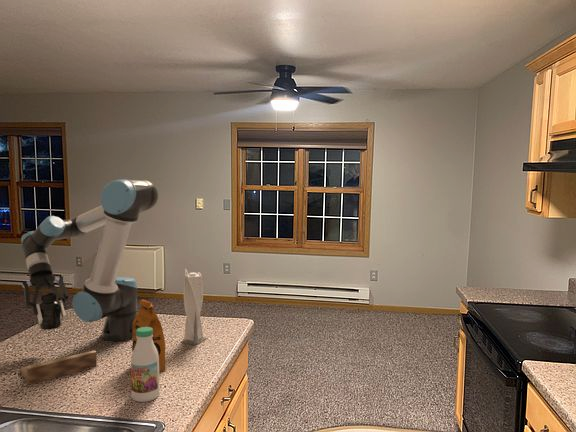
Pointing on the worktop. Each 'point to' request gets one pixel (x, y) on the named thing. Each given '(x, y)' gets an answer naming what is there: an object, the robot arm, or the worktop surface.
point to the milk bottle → (144, 367)
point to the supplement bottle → (50, 312)
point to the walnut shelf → (59, 367)
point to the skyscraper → (193, 308)
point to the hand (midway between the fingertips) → (52, 319)
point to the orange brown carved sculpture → (150, 319)
